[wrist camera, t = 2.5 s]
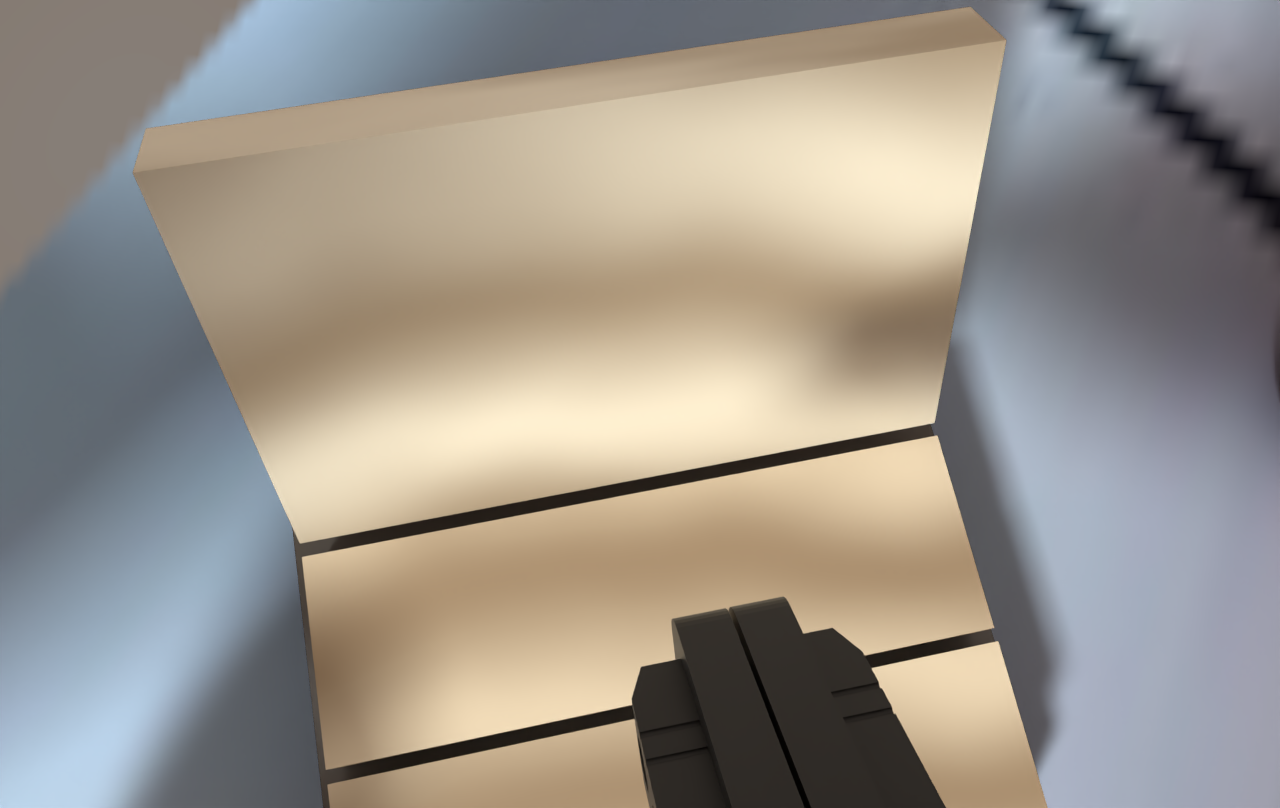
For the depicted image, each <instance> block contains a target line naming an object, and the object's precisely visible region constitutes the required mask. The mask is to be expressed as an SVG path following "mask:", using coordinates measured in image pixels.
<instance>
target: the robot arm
mask: <svg viewBox="0 0 1280 808" xmlns="http://www.w3.org/2000/svg"><path fill="white" fill-rule="evenodd" d="M671 625H672V635H673V644H674V652H675V660H672V661H667V662H662V663H657V664H652V665H647V666H642V667H641V668H640V672H639V675H638V678H637V682H636V685H635V689H634V692H633V695H632V706H633V713H634V719H635V726H636V733H637V739H638V746H639V753H640V760H641V766H642V773H643V780H644V785H645V790H646V794H647V799H648V803H649V808H946V807H945V805H944V803H943V801H942V799H941V798H940V796H939V794H938V792H937V790H936V788H935V786H934V784H933V783H932V781H931V779H930V777H929V775H928V773H927V771H926V769H925V768H924V766H923V764H922V762H921V760H920V758H919V756H918V755H917V753H916V751H915V749H914V747H913V745H912V743H911V741H910V740H909V738H908V736H907V734H906V732H905V730H904V728H903V726H902V725H901V723H900V721H899V719H898V717H897V715H896V713H895V714H894V713H893V710H892V706H891V704H890V702H889V700H888V698H887V696H886V695H885V693H884V691H883V689H882V688H880V686H879V681H878V680H877V678H876V676H875V674H874V672H873V670H872V668H871V667H870V665H869V663H868V661H867V659H866V657H865V655H864V653H863V652H862V651H861V650H860V649H859V648H858V647H856V646H855V645H854V644H853V643H851V642H850V641H849V640H847V639H846V638H845V637H844V636H842V635H841V634H840V633H839V632H837V631H836V630H835V629H834V628H829V629H824V630H819V631H814V632H809V633H804V634H803V632H802V630H801V628H800V625H799V623H798V621H797V619H796V617H795V615H794V613H793V611H792V608H791V606H790V604H789V602H788V601H787V599H786V598H785V597H778V598H773V599H768V600H762V601H757V602H752V603H747V604H742V605H737V606H732V607H730V608H729V611H728V610H727V609H726V608H723V609H718V610H713V611H708V612H703V613H698V614H693V615H688V616H683V617H678V618H673V619H672V621H671Z"/></svg>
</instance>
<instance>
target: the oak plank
mask: <svg viewBox="0 0 1280 808" xmlns="http://www.w3.org/2000/svg"><path fill="white" fill-rule="evenodd" d="M1005 45H1006V39H1005V38H1004V37H1003V36H1001V35H1000V34H999V33H998V32H997V31H996V30H995V29H994V28H993V27H992V26H991V25H990V24H988V23H987V22H986V21H985V20H984V19H983V18H982V17H981V16H980V15H979V14H978V13H977V12H976V11H974V10H973V9H972V8H971V7H965V8H959V9H952V10H945V11H938V12H932V13H925V14H918V15H911V16H904V17H898V18H891V19H884V20H877V21H871V22H864V23H857V24H850V25H844V26H837V27H830V28H823V29H817V30H810V31H803V32H796V33H789V34H783V35H776V36H769V37H762V38H756V39H749V40H742V41H735V42H729V43H722V44H715V45H708V46H701V47H695V48H688V49H681V50H674V51H668V52H661V53H654V54H647V55H641V56H634V57H627V58H620V59H614V60H607V61H600V62H593V63H586V64H580V65H573V66H566V67H559V68H553V69H546V70H539V71H532V72H526V73H519V74H512V75H505V76H499V77H492V78H485V79H478V80H471V81H465V82H458V83H451V84H444V85H438V86H431V87H424V88H417V89H411V90H404V91H397V92H390V93H383V94H377V95H370V96H363V97H356V98H350V99H343V100H336V101H329V102H323V103H316V104H309V105H302V106H296V107H289V108H282V109H275V110H268V111H262V112H255V113H248V114H241V115H235V116H228V117H221V118H214V119H208V120H201V121H194V122H187V123H181V124H174V125H167V126H160V127H153V128H147V129H146V130H145V134H144V137H143V140H142V143H141V147H140V150H139V153H138V157H137V160H136V163H135V167H134V170H133V175H134V177H135V179H136V181H137V184H138V186H139V188H140V190H141V192H142V195H143V197H144V199H145V201H146V204H147V206H148V208H149V210H150V212H151V215H152V217H153V219H154V221H155V224H156V226H157V228H158V230H159V232H160V235H161V237H162V239H163V241H164V243H165V246H166V248H167V250H168V252H169V255H170V257H171V259H172V261H173V263H174V266H175V268H176V270H177V272H178V275H179V277H180V279H181V281H182V283H183V286H184V288H185V290H186V292H187V294H188V297H189V299H190V301H191V303H192V306H193V308H194V310H195V312H196V314H197V317H198V319H199V321H200V323H201V326H202V328H203V330H204V332H205V334H206V337H207V339H208V341H209V343H210V346H211V348H212V350H213V352H214V354H215V357H216V359H217V361H218V363H219V365H220V368H221V370H222V372H223V374H224V377H225V379H226V381H227V383H228V385H229V388H230V390H231V392H232V394H233V397H234V399H235V401H236V403H237V405H238V408H239V410H240V412H241V414H242V417H243V419H244V421H245V423H246V425H247V428H248V430H249V432H250V434H251V436H252V439H253V441H254V443H255V445H256V448H257V450H258V452H259V454H260V456H261V459H262V461H263V463H264V465H265V468H266V470H267V472H268V474H269V476H270V479H271V481H272V483H273V485H274V488H275V490H276V492H277V494H278V496H279V499H280V501H281V503H282V505H283V507H284V510H285V512H286V514H287V516H288V519H289V521H290V523H291V525H292V527H293V530H294V532H295V534H296V536H297V539H298V541H299V543H306V542H311V541H316V540H321V539H327V538H332V537H337V536H342V535H348V534H353V533H358V532H363V531H369V530H374V529H379V528H385V527H390V526H395V525H400V524H406V523H411V522H416V521H421V520H427V519H432V518H437V517H442V516H448V515H453V514H458V513H463V512H469V511H474V510H479V509H485V508H490V507H495V506H500V505H506V504H511V503H516V502H521V501H527V500H532V499H537V498H542V497H548V496H553V495H558V494H563V493H569V492H574V491H579V490H584V489H590V488H595V487H600V486H606V485H611V484H616V483H621V482H627V481H632V480H637V479H642V478H648V477H653V476H658V475H663V474H669V473H674V472H679V471H684V470H690V469H695V468H700V467H706V466H711V465H716V464H721V463H727V462H732V461H737V460H742V459H748V458H753V457H758V456H763V455H769V454H774V453H779V452H784V451H790V450H795V449H800V448H806V447H811V446H816V445H821V444H827V443H832V442H837V441H842V440H848V439H853V438H858V437H863V436H869V435H874V434H879V433H884V432H890V431H895V430H900V429H906V428H911V427H916V426H921V425H927V424H932V423H935V418H936V413H937V407H938V402H939V397H940V391H941V386H942V381H943V376H944V370H945V365H946V360H947V354H948V349H949V344H950V338H951V333H952V328H953V322H954V317H955V312H956V306H957V301H958V296H959V290H960V285H961V280H962V274H963V269H964V264H965V258H966V253H967V248H968V242H969V237H970V232H971V226H972V221H973V216H974V210H975V205H976V200H977V194H978V189H979V184H980V178H981V173H982V168H983V162H984V157H985V152H986V146H987V141H988V136H989V130H990V125H991V120H992V114H993V109H994V104H995V99H996V93H997V88H998V83H999V77H1000V72H1001V67H1002V61H1003V56H1004V51H1005Z"/></svg>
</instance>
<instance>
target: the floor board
mask: <svg viewBox="0 0 1280 808" xmlns="http://www.w3.org/2000/svg"><path fill="white" fill-rule="evenodd" d="M292 528H293V527H292ZM293 537H294V546H295V555H296V564H297V573H298V583H299V592H300V601H301V610H302V619H303V628H304V637H305V646H306V655H307V664H308V673H309V682H310V691H311V700H312V709H313V718H314V727H315V736H316V745H317V754H318V763H319V772H320V782H321V791H322V800H323V808H649V803H648V799H647V794H646V790H645V785H644V780H643V773H642V766H641V760H640V753H639V746H638V739H637V733H636V726H635V719H634V713H633V706H632V695H633V692H634V689H635V685H636V682H637V678H638V675H639V672H640V668H641V667H642V666H647V665H652V664H657V663H662V662H667V661H672V660H675V652H674V644H673V635H672V625H671V621H672V619H673V618H678V617H683V616H688V615H693V614H698V613H703V612H708V611H713V610H718V609H723V608H726V609H727V610H728V611H729V608H730V607H732V606H737V605H742V604H747V603H752V602H757V601H762V600H768V599H773V598H778V597H785V598H786V599H787V601H788V602H789V604H790V606H791V608H792V611H793V613H794V615H795V617H796V619H797V621H798V623H799V625H800V628H801V630H802V632H803V634H804V633H809V632H814V631H819V630H824V629H829V628H834V629H835V630H836V631H837V632H839V633H840V634H841V635H842V636H844V637H845V638H846V639H847V640H849V641H850V642H851V643H853V644H854V645H855V646H856V647H858V648H859V649H860V650H861V651H862V652H863V653H864V655H865V657H866V659H867V661H868V663H869V665H870V667H871V668H872V670H873V672H874V674H875V676H876V678H877V680H878V681H879V686H880V688H882V689H883V691H884V693H885V695H886V696H887V698H888V700H889V702H890V704H891V706H892V710H893V713H894V714H895V713H896V715H897V717H898V719H899V721H900V723H901V725H902V726H903V728H904V730H905V732H906V734H907V736H908V738H909V740H910V741H911V743H912V745H913V747H914V749H915V751H916V753H917V755H918V756H919V758H920V760H921V762H922V764H923V766H924V768H925V769H926V771H927V773H928V775H929V777H930V779H931V781H932V783H933V784H934V786H935V788H936V790H937V792H938V794H939V796H940V798H941V799H942V801H943V803H944V805H945V807H946V808H1047V804H1046V801H1045V798H1044V794H1043V791H1042V788H1041V784H1040V781H1039V777H1038V774H1037V771H1036V767H1035V764H1034V760H1033V757H1032V754H1031V750H1030V747H1029V744H1028V740H1027V737H1026V733H1025V730H1024V727H1023V723H1022V720H1021V716H1020V713H1019V710H1018V706H1017V703H1016V700H1015V696H1014V693H1013V689H1012V686H1011V683H1010V679H1009V676H1008V672H1007V669H1006V666H1005V662H1004V659H1003V656H1002V652H1001V649H1000V645H999V642H998V641H997V642H994V638H993V635H992V631H991V629H992V628H994V625H993V622H992V618H991V615H990V612H989V608H988V605H987V601H986V598H985V595H984V591H983V588H982V585H981V581H980V578H979V574H978V571H977V568H976V564H975V561H974V557H973V554H972V551H971V547H970V544H969V541H968V537H967V534H966V530H965V527H964V524H963V520H962V517H961V513H960V510H959V507H958V503H957V500H956V497H955V493H954V490H953V486H952V483H951V480H950V476H949V473H948V469H947V466H946V463H945V459H944V456H943V453H942V449H941V446H940V442H939V439H938V436H934V434H933V431H932V428H931V424H927V425H921V426H916V427H911V428H906V429H900V430H895V431H890V432H884V433H879V434H874V435H869V436H863V437H858V438H853V439H848V440H842V441H837V442H832V443H827V444H821V445H816V446H811V447H806V448H800V449H795V450H790V451H784V452H779V453H774V454H769V455H763V456H758V457H753V458H748V459H742V460H737V461H732V462H727V463H721V464H716V465H711V466H706V467H700V468H695V469H690V470H684V471H679V472H674V473H669V474H663V475H658V476H653V477H648V478H642V479H637V480H632V481H627V482H621V483H616V484H611V485H606V486H600V487H595V488H590V489H584V490H579V491H574V492H569V493H563V494H558V495H553V496H548V497H542V498H537V499H532V500H527V501H521V502H516V503H511V504H506V505H500V506H495V507H490V508H485V509H479V510H474V511H469V512H463V513H458V514H453V515H448V516H442V517H437V518H432V519H427V520H421V521H416V522H411V523H406V524H400V525H395V526H390V527H385V528H379V529H374V530H369V531H363V532H358V533H353V534H348V535H342V536H337V537H332V538H327V539H321V540H316V541H311V542H306V543H299V541H298V539H297V536H296V534H295V532H294V530H293Z"/></svg>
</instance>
